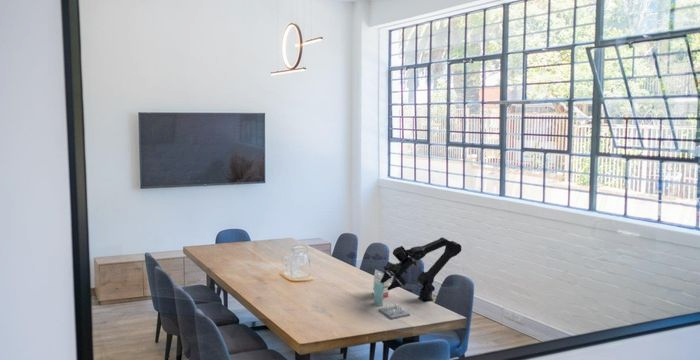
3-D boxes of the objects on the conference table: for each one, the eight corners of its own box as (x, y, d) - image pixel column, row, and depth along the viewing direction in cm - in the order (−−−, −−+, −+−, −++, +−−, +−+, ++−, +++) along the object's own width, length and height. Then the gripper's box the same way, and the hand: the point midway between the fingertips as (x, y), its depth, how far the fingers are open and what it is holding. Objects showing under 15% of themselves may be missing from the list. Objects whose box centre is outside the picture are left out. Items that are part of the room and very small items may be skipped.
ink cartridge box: (388, 296, 355) (390, 272, 352) (381, 298, 352) (383, 273, 349) (378, 291, 362) (380, 267, 359) (372, 293, 359) (374, 268, 356)
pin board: (397, 307, 341) (397, 301, 340) (410, 315, 331) (410, 309, 330) (378, 310, 335) (379, 304, 334) (391, 319, 325) (392, 312, 324)
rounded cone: (379, 302, 346) (380, 281, 344) (384, 305, 342) (385, 284, 340) (371, 303, 344) (373, 282, 341) (376, 306, 340) (378, 286, 337)
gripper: (387, 251, 349) (368, 271, 347) (403, 262, 332) (383, 283, 330) (398, 264, 354) (379, 283, 352) (414, 275, 337) (395, 296, 335)
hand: (384, 286), depth 342 cm, fingers open, 9 cm apart
